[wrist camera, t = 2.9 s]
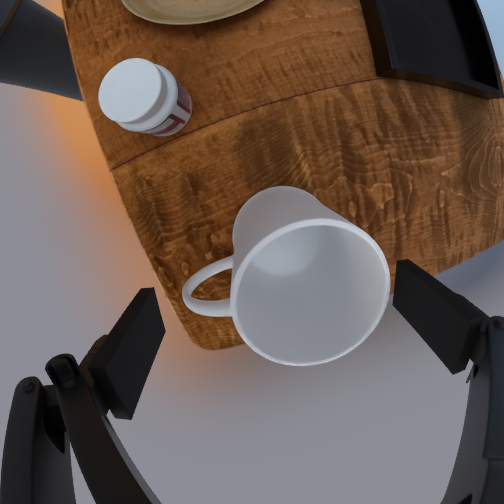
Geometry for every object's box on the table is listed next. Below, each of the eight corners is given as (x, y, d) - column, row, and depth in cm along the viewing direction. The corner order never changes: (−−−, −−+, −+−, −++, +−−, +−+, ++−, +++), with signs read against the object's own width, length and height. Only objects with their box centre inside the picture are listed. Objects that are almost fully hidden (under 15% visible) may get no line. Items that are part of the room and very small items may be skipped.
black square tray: (376, 76, 20) (391, 68, 17) (344, -45, 15) (352, -59, 12) (487, 99, 20) (504, 98, 17) (456, -10, 15) (469, -17, 12)
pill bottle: (152, 77, 20) (113, 45, 12) (202, 93, 21) (182, 61, 13) (130, 127, 21) (80, 117, 13) (179, 144, 22) (146, 139, 14)
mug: (206, 293, 26) (185, 385, 15) (186, 201, 23) (136, 242, 12) (333, 272, 26) (388, 351, 15) (325, 179, 23) (395, 201, 12)
